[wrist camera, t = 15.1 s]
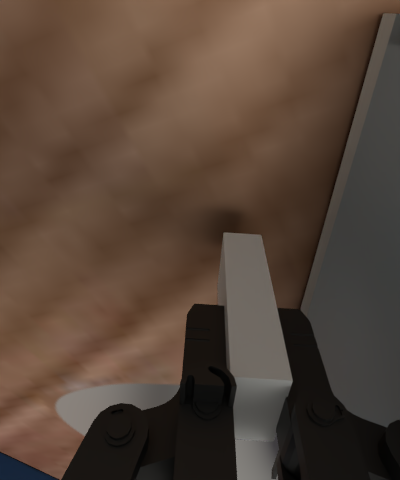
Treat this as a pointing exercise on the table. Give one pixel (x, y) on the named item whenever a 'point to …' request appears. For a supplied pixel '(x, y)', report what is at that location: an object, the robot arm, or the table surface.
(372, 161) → the tray
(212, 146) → the table surface
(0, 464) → the protein box
